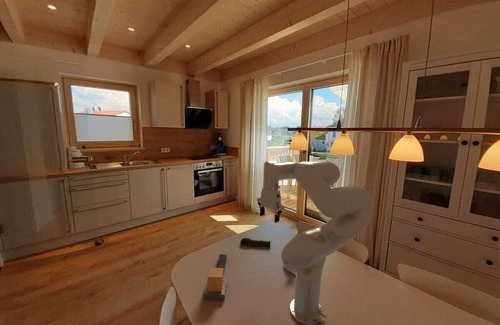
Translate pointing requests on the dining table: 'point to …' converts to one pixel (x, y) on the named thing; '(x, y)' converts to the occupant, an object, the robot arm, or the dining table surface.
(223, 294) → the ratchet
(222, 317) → the dining table surface
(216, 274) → the orange cube
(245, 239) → the hand tool
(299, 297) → the robot arm
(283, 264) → the seated beast figurine
